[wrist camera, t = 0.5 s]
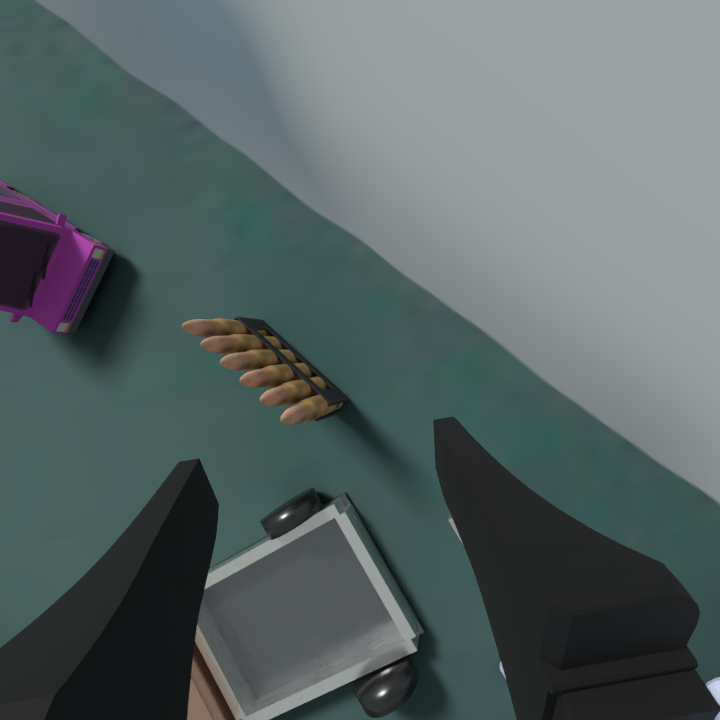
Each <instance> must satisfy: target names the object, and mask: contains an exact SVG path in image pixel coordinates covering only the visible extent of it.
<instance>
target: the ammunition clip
mask: <svg viewBox="0 0 720 720" xmlns="http://www.w3.org/2000/svg"><path fill="white" fill-rule="evenodd" d="M236 320H238V321H236ZM182 328H183V329H184V330H185V331H187V332H189V333H191V334H193V335H197V336H203V337H208V338H207V339H204V340H203V341H202V342H201V346H202V347H203V348H204V349H206V350H209V351H211V352H215V353H223V354H229V355H227V356H225V357H223V358H222V359H221V360H220V364H221V365H222V366H223V367H226V368H228V369H232V370H247V371H250V372H247V373H245V374H244V375H243V376H242V377H241V378H240V383H241V384H242V385H245V386H247V387H266V388H272V389H270V390H268V391H266V392H265V393H264V394H263V395H262V396H261V397H260V402H261V403H263V404H265V405H268V406H277V405H283V404H284V405H291V404H295V403H297V404H296V405H294V406H292V407H290V408H288V409H287V410H286V411H285V412H284V413H283V414H282V416H281V422H282V423H284V424H289V425H293V424H298V423H301V422H309V421H312V420H315V421H318V420H321V419H324V418H327V417H330V416H333V415H335V414H337V413H338V412H339V411H340V410H341V408H342V407H343V406H344V405H345V404H346V403H347V401H348V400H349V398H348V397H347V396H346V395H345V394H344V393H343V392H342V391H341V390H340V389H338V388H337V387H336V386H335V385H334V384H333V383H332V382H331V381H330V380H328V379H327V378H326V377H325V376H324V375H323V374H322V373H321V372H320V371H319V370H317V369H316V368H315V367H314V366H313V365H312V364H311V363H310V362H309V361H307V360H306V359H305V358H304V357H303V356H302V355H301V354H300V353H299V352H298V351H296V350H295V349H294V348H293V347H292V346H291V345H290V344H289V343H288V342H287V341H285V340H284V339H283V338H282V337H281V336H280V335H279V334H278V333H277V332H275V331H274V330H273V329H272V328H271V327H270V326H269V325H268V324H267V323H266V322H264V321H263V320H260V319H252V318H244V317H236V318H235V319H234V320H229V319H213V320H210V319H206V320H205V319H195V320H190V321H187V322H185V323H183V324H182Z"/></svg>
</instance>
